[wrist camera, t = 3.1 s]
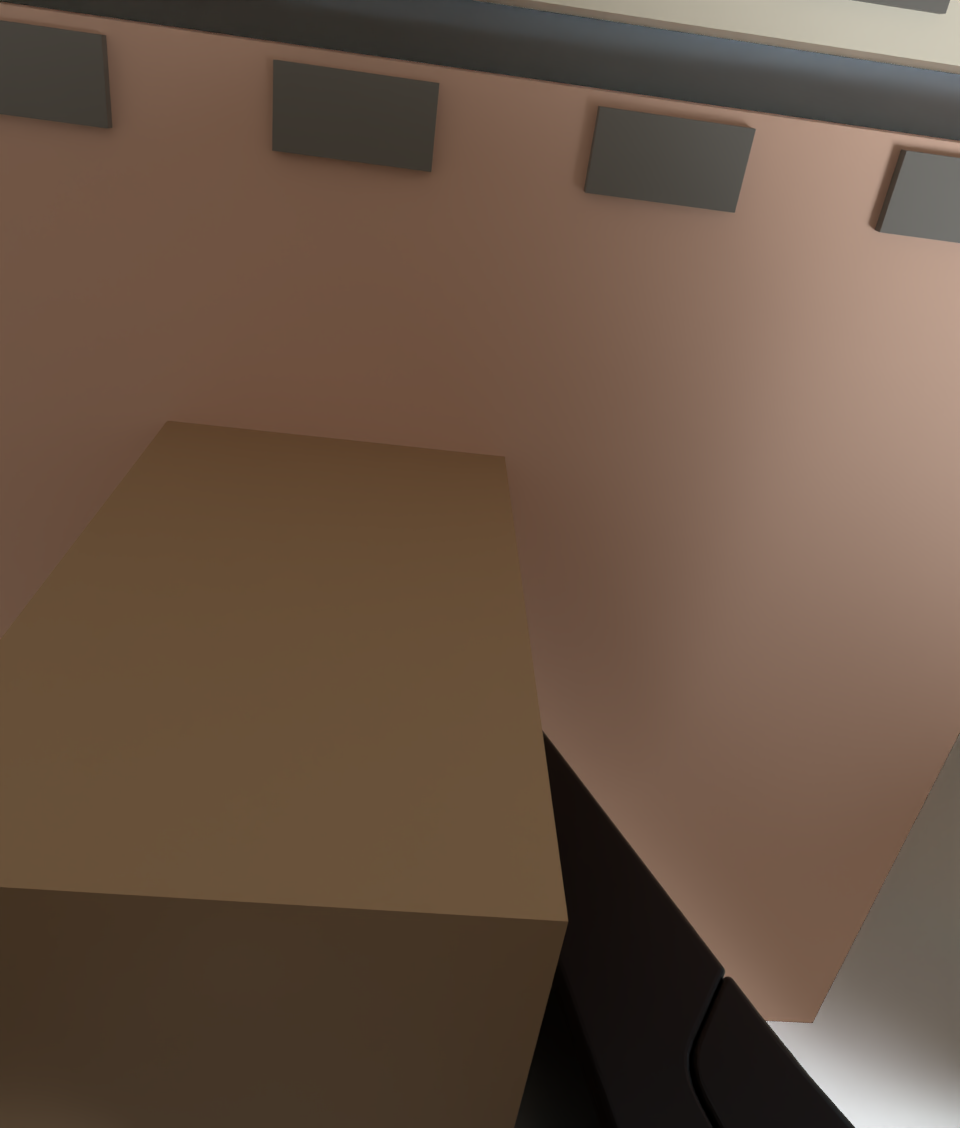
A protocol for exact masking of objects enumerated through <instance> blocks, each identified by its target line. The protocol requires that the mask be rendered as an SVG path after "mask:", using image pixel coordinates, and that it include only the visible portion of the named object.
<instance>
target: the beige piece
mask: <svg viewBox="0 0 960 1128" xmlns="http://www.w3.org/2000/svg"><path fill="white" fill-rule="evenodd" d="M542 730H543V731H544V733H545V734H546V735H547V737H548V738H549V739H550V740H551V742H552V743H553V744H554V746H555V747H556V748H557V750H558V751H559V752H560V754H561V755H562V756H563V757H564V759H565V760H566V761H567V763H568V764H569V765H570V767H571V768H572V769H573V771H574V772H575V773H576V774H577V776H578V777H579V778H580V780H581V781H582V782H583V784H584V785H585V786H586V788H587V789H588V790H589V792H590V793H591V794H592V795H593V797H594V798H595V799H596V801H597V802H598V803H599V805H600V806H601V807H602V809H603V810H604V811H605V812H606V814H607V815H608V816H609V818H610V819H611V820H612V822H613V823H614V824H615V826H616V827H617V828H618V830H619V831H620V832H621V833H622V835H623V836H624V837H625V839H626V840H627V841H628V843H629V844H630V845H631V847H632V848H633V849H634V850H635V852H636V853H637V854H638V856H639V857H640V858H641V860H642V861H643V862H644V864H645V865H646V866H647V868H648V869H649V870H650V871H651V873H652V874H653V875H654V877H655V878H656V879H657V881H658V882H659V883H660V885H661V886H662V887H663V888H664V890H665V891H666V892H667V894H668V895H669V896H670V898H671V899H672V900H673V902H674V903H675V904H676V905H677V907H678V908H679V909H680V911H681V912H682V913H683V915H684V916H685V917H686V919H687V920H688V921H689V923H690V924H691V925H692V926H693V928H694V929H695V930H696V932H697V933H698V934H699V936H700V937H701V938H702V940H703V941H704V942H705V943H706V945H707V946H708V947H709V949H710V950H711V951H712V953H713V954H714V955H715V957H716V958H717V959H718V961H719V962H720V963H721V964H722V966H723V967H724V969H725V975H724V977H727V976H729V977H731V978H733V980H734V981H735V982H736V983H737V985H738V986H739V987H740V989H741V990H742V991H743V993H744V994H745V995H746V997H747V998H748V999H749V1000H750V1002H751V1003H752V1004H753V1006H754V1007H755V1008H756V1010H757V1011H758V1012H759V1014H760V1015H761V1016H762V1017H763V1019H764V1020H765V1021H782V1022H802V1023H813V1021H814V1019H815V1017H816V1015H817V1013H818V1011H819V1009H820V1007H821V1005H822V1003H823V1001H824V999H825V997H826V995H827V993H828V991H829V989H830V988H831V986H832V984H833V982H834V980H835V978H836V976H837V974H838V972H839V970H840V968H841V966H842V964H843V962H844V960H845V958H846V956H847V954H848V952H849V950H850V948H851V946H852V944H853V942H854V940H855V938H856V936H857V934H858V932H859V930H860V928H861V926H862V924H863V923H864V921H865V919H866V917H867V915H868V913H869V911H870V909H871V907H872V905H873V903H874V901H875V899H876V897H877V895H878V893H879V891H880V889H881V887H882V885H883V883H884V881H885V879H886V877H887V875H888V873H889V871H890V869H891V867H892V865H893V863H894V861H895V859H896V857H897V856H898V854H899V852H900V850H901V848H902V846H903V844H904V842H905V840H906V838H907V836H908V834H909V832H910V830H911V828H912V826H913V824H914V822H915V820H916V818H917V816H918V814H919V812H920V810H921V808H922V806H923V804H924V802H925V800H926V798H927V796H928V794H929V792H930V791H931V789H932V787H933V785H934V783H935V781H936V779H937V777H938V775H939V773H940V771H941V769H942V767H943V765H944V763H945V761H946V759H947V757H948V755H949V753H950V751H951V749H952V747H953V745H954V743H955V741H956V739H957V737H958V735H959V733H960V141H958V140H951V139H944V138H937V137H930V136H924V135H917V134H910V133H903V132H896V131H889V130H882V129H875V128H869V127H862V126H855V125H848V124H841V123H834V122H827V121H820V120H813V119H807V118H800V117H793V116H786V115H779V114H772V113H765V112H758V111H752V110H745V109H738V108H731V107H724V106H717V105H710V104H703V103H696V102H690V101H683V100H676V99H669V98H662V97H655V96H648V95H641V94H635V93H628V92H621V91H614V90H607V89H600V88H593V87H586V86H579V85H573V84H566V83H559V82H552V81H545V80H538V79H531V78H524V77H518V76H511V75H504V74H497V73H490V72H483V71H476V70H469V69H462V68H456V67H449V66H442V65H435V64H428V63H421V62H414V61H407V60H400V59H394V58H387V57H380V56H373V55H366V54H359V53H352V52H345V51H339V50H332V49H325V48H318V47H311V46H304V45H297V44H290V43H283V42H277V41H270V40H263V39H256V38H249V37H242V36H235V35H228V34H222V33H215V32H208V31H201V30H194V29H187V28H180V27H173V26H166V25H160V24H153V23H146V22H139V21H132V20H125V19H118V18H111V17H105V16H98V15H91V14H84V13H77V12H70V11H63V10H56V9H49V8H43V7H36V6H29V5H22V4H15V3H8V2H1V1H0V1128H514V1126H515V1122H516V1119H517V1115H518V1111H519V1107H520V1103H521V1100H522V1096H523V1092H524V1088H525V1084H526V1081H527V1077H528V1073H529V1069H530V1065H531V1062H532V1058H533V1054H534V1050H535V1046H536V1043H537V1039H538V1035H539V1031H540V1027H541V1024H542V1020H543V1016H544V1012H545V1008H546V1005H547V1001H548V997H549V993H550V989H551V986H552V982H553V978H554V974H555V970H556V967H557V963H558V959H559V955H560V951H561V948H562V944H563V940H564V936H565V932H566V929H567V925H568V915H567V908H566V901H565V893H564V886H563V879H562V871H561V864H560V857H559V849H558V842H557V835H556V827H555V820H554V813H553V805H552V798H551V791H550V784H549V776H548V769H547V762H546V754H545V747H544V740H543V732H542Z"/></svg>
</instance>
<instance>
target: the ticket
mask: <svg viewBox="0 0 960 1128" xmlns="http://www.w3.org/2000/svg"><path fill="white" fill-rule="evenodd" d="M474 1H481V2H488V3H494V4H501V5H507V6H514V7H520V8H527V9H533V10H540V11H547V12H553V13H560V14H566V15H573V16H579V17H586V18H593V19H599V20H606V21H612V22H619V23H625V24H632V25H639V26H645V27H652V28H658V29H665V30H671V31H678V32H685V33H691V34H698V35H704V36H711V37H717V38H724V39H731V40H737V41H744V42H750V43H757V44H763V45H770V46H776V47H783V48H790V49H796V50H803V51H809V52H816V53H822V54H829V55H836V56H842V57H849V58H855V59H862V60H868V61H875V62H882V63H888V64H895V65H901V66H908V67H914V68H921V69H928V70H934V71H941V72H947V73H954V74H960V0H474Z"/></svg>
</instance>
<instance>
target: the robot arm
mask: <svg viewBox="0 0 960 1128" xmlns="http://www.w3.org/2000/svg"><path fill="white" fill-rule="evenodd" d="M542 732H543V740H544V747H545V754H546V762H547V769H548V776H549V784H550V791H551V798H552V805H553V813H554V820H555V827H556V835H557V842H558V849H559V857H560V864H561V871H562V879H563V886H564V893H565V901H566V908H567V915H568V925H567V929H566V932H565V936H564V940H563V944H562V948H561V951H560V955H559V959H558V963H557V967H556V970H555V974H554V978H553V982H552V986H551V989H550V993H549V997H548V1001H547V1005H546V1008H545V1012H544V1016H543V1020H542V1024H541V1027H540V1031H539V1035H538V1039H537V1043H536V1046H535V1050H534V1054H533V1058H532V1062H531V1065H530V1069H529V1073H528V1077H527V1081H526V1084H525V1088H524V1092H523V1096H522V1100H521V1103H520V1107H519V1111H518V1115H517V1119H516V1122H515V1126H514V1128H855V1127H854V1126H853V1125H852V1124H851V1122H850V1121H849V1120H848V1119H847V1118H846V1117H845V1116H844V1114H843V1113H842V1112H841V1111H840V1110H839V1109H838V1108H837V1106H836V1105H835V1104H834V1103H833V1102H832V1101H831V1100H830V1098H829V1097H828V1096H827V1095H826V1094H825V1093H824V1092H823V1091H822V1089H821V1088H820V1087H819V1086H818V1085H817V1084H816V1083H815V1081H814V1080H813V1079H812V1078H811V1077H810V1076H809V1075H808V1073H807V1072H806V1071H805V1070H804V1068H803V1067H802V1066H801V1065H800V1063H799V1062H798V1061H797V1060H796V1058H795V1057H794V1056H793V1055H792V1053H791V1052H790V1051H789V1050H788V1048H787V1047H786V1046H785V1045H784V1043H783V1042H782V1041H781V1040H780V1039H779V1037H778V1036H777V1035H776V1034H775V1032H774V1031H773V1030H772V1029H771V1027H770V1026H769V1025H768V1024H767V1022H766V1021H765V1020H764V1019H763V1017H762V1016H761V1015H760V1014H759V1012H758V1011H757V1010H756V1008H755V1007H754V1006H753V1004H752V1003H751V1002H750V1000H749V999H748V998H747V997H746V995H745V994H744V993H743V991H742V990H741V989H740V987H739V986H738V985H737V983H736V982H735V981H734V980H733V978H731V977H729V976H727V977H724V975H725V969H724V967H723V966H722V964H721V963H720V962H719V961H718V959H717V958H716V957H715V955H714V954H713V953H712V951H711V950H710V949H709V947H708V946H707V945H706V943H705V942H704V941H703V940H702V938H701V937H700V936H699V934H698V933H697V932H696V930H695V929H694V928H693V926H692V925H691V924H690V923H689V921H688V920H687V919H686V917H685V916H684V915H683V913H682V912H681V911H680V909H679V908H678V907H677V905H676V904H675V903H674V902H673V900H672V899H671V898H670V896H669V895H668V894H667V892H666V891H665V890H664V888H663V887H662V886H661V885H660V883H659V882H658V881H657V879H656V878H655V877H654V875H653V874H652V873H651V871H650V870H649V869H648V868H647V866H646V865H645V864H644V862H643V861H642V860H641V858H640V857H639V856H638V854H637V853H636V852H635V850H634V849H633V848H632V847H631V845H630V844H629V843H628V841H627V840H626V839H625V837H624V836H623V835H622V833H621V832H620V831H619V830H618V828H617V827H616V826H615V824H614V823H613V822H612V820H611V819H610V818H609V816H608V815H607V814H606V812H605V811H604V810H603V809H602V807H601V806H600V805H599V803H598V802H597V801H596V799H595V798H594V797H593V795H592V794H591V793H590V792H589V790H588V789H587V788H586V786H585V785H584V784H583V782H582V781H581V780H580V778H579V777H578V776H577V774H576V773H575V772H574V771H573V769H572V768H571V767H570V765H569V764H568V763H567V761H566V760H565V759H564V757H563V756H562V755H561V754H560V752H559V751H558V750H557V748H556V747H555V746H554V744H553V743H552V742H551V740H550V739H549V738H548V737H547V735H546V734H545V733H544V731H543V730H542Z"/></svg>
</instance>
